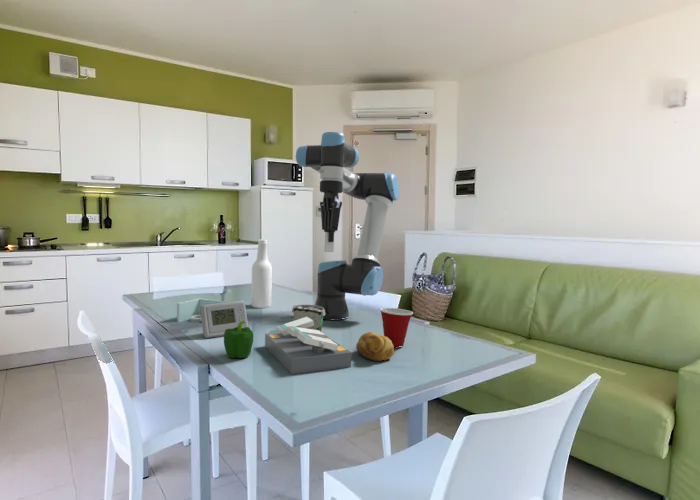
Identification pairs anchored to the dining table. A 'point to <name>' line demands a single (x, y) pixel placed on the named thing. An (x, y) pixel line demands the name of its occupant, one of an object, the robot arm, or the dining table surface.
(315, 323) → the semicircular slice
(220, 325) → the digital clock
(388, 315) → the plastic cup
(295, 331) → the rocker
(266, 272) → the alcohol
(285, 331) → the rocker
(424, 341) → the dining table surface
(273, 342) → the switch unit
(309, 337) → the white rectangular block
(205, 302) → the l-shaped corner panel
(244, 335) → the bell pepper
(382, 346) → the bread roll
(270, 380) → the dining table surface
